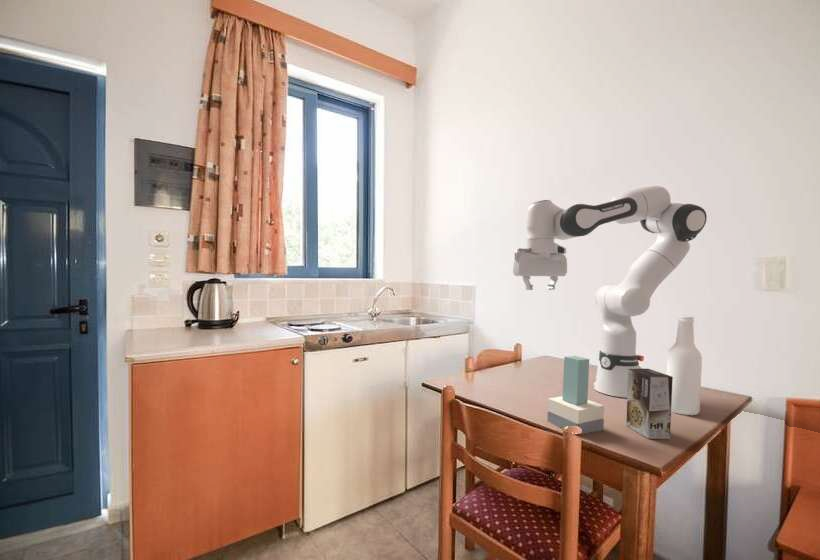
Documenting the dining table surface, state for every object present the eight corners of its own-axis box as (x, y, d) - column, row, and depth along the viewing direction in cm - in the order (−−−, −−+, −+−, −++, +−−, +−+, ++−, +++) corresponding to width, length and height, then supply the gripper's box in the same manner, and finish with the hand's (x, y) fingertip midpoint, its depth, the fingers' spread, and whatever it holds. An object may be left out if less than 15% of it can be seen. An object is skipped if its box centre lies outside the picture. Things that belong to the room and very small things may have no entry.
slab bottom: (573, 418, 111) (574, 406, 111) (603, 432, 102) (603, 419, 102) (547, 422, 107) (547, 410, 107) (575, 437, 98) (575, 423, 98)
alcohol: (694, 418, 114) (699, 318, 113) (660, 409, 120) (665, 315, 120) (702, 412, 119) (707, 316, 119) (670, 404, 126) (674, 314, 126)
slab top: (572, 406, 112) (572, 394, 112) (603, 418, 103) (603, 405, 103) (547, 410, 107) (548, 398, 107) (577, 424, 98) (578, 410, 98)
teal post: (573, 398, 108) (575, 355, 108) (587, 403, 104) (589, 359, 104) (562, 399, 106) (564, 356, 106) (576, 404, 102) (578, 360, 102)
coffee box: (671, 439, 98) (674, 376, 98) (647, 439, 97) (650, 376, 97) (646, 425, 107) (649, 368, 107) (624, 425, 106) (627, 367, 106)
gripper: (521, 246, 122) (521, 290, 122) (570, 249, 130) (570, 289, 129) (508, 248, 128) (509, 290, 127) (556, 250, 135) (556, 289, 135)
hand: (540, 289), depth 128 cm, fingers open, 8 cm apart
